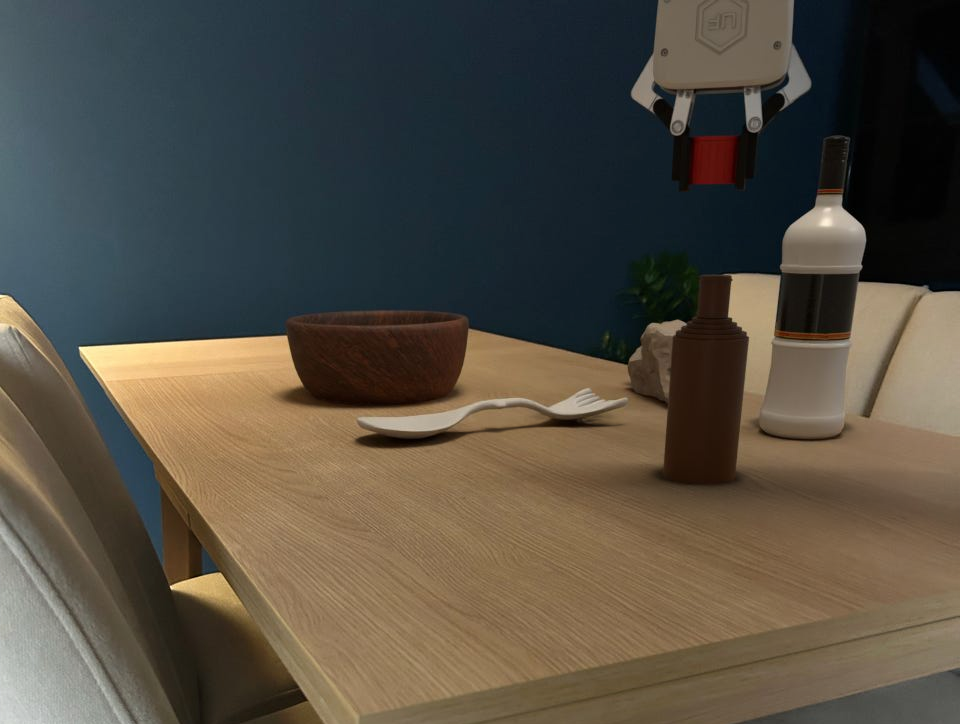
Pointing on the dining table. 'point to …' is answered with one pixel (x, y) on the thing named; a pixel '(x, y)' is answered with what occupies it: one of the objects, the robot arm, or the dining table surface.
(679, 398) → the sauce bottle
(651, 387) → the decorative stone
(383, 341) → the wooden bowl
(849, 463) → the dining table surface
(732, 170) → the cap
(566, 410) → the white spork
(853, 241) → the vodka
